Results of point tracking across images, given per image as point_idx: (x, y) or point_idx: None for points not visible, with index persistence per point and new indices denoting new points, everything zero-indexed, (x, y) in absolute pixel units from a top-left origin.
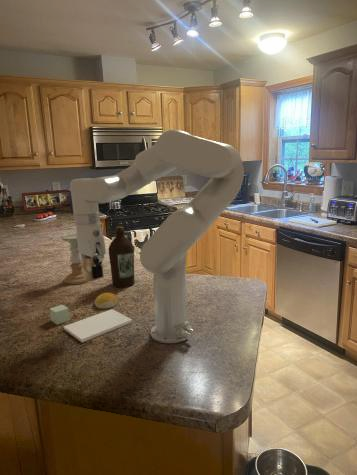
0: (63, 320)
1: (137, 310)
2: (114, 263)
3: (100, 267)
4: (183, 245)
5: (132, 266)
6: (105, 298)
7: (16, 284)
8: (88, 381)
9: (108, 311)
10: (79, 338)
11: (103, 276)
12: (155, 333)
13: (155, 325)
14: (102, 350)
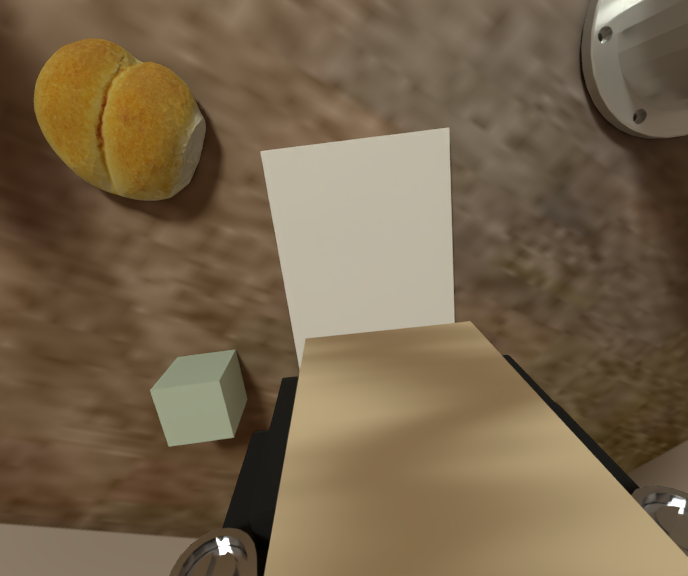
0: (239, 378)
1: (334, 19)
2: None
3: (629, 478)
4: None
5: None
6: (158, 146)
7: None
8: (656, 419)
9: (278, 181)
10: None
11: (474, 327)
12: (654, 114)
13: (666, 91)
14: (551, 333)
